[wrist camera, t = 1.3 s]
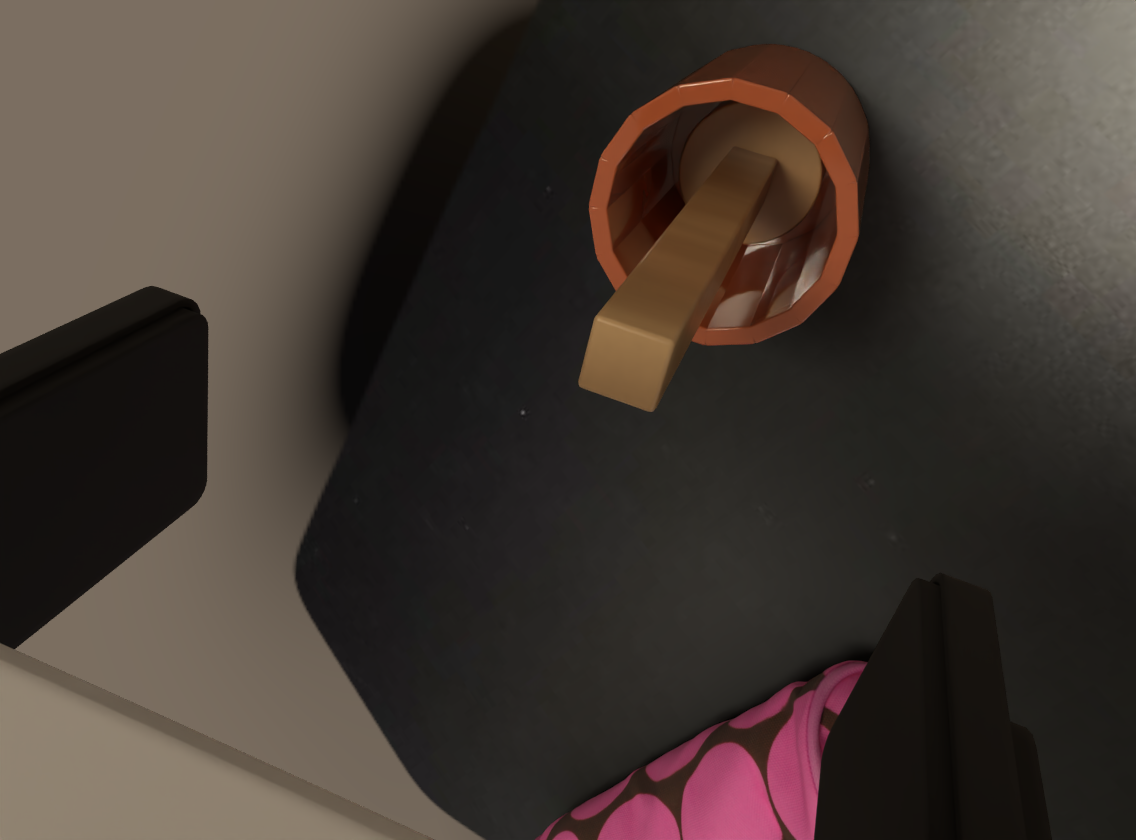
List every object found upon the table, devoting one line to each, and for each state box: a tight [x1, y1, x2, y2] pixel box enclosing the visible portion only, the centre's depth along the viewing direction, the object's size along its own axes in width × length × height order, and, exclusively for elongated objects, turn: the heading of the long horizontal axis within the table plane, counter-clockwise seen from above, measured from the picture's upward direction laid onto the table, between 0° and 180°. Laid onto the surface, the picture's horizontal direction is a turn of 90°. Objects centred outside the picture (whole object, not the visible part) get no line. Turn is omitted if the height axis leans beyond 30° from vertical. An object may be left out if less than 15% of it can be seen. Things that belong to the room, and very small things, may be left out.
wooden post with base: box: [579, 100, 826, 412], centre depth 22 cm, size 4×4×16 cm
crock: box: [589, 44, 870, 345], centre depth 26 cm, size 7×7×8 cm
